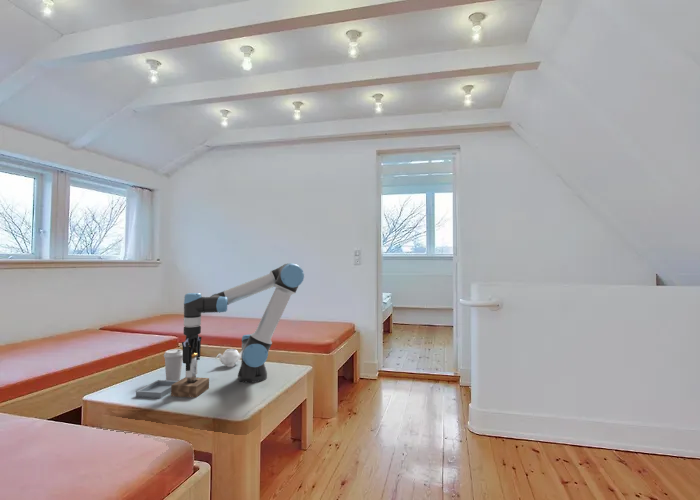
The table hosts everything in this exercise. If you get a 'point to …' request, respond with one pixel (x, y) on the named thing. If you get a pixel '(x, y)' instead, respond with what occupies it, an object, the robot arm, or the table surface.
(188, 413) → the table surface
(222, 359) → the teapot
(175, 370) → the coffee cup
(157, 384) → the tray
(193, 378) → the hitch pin
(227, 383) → the table surface
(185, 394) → the socket block
